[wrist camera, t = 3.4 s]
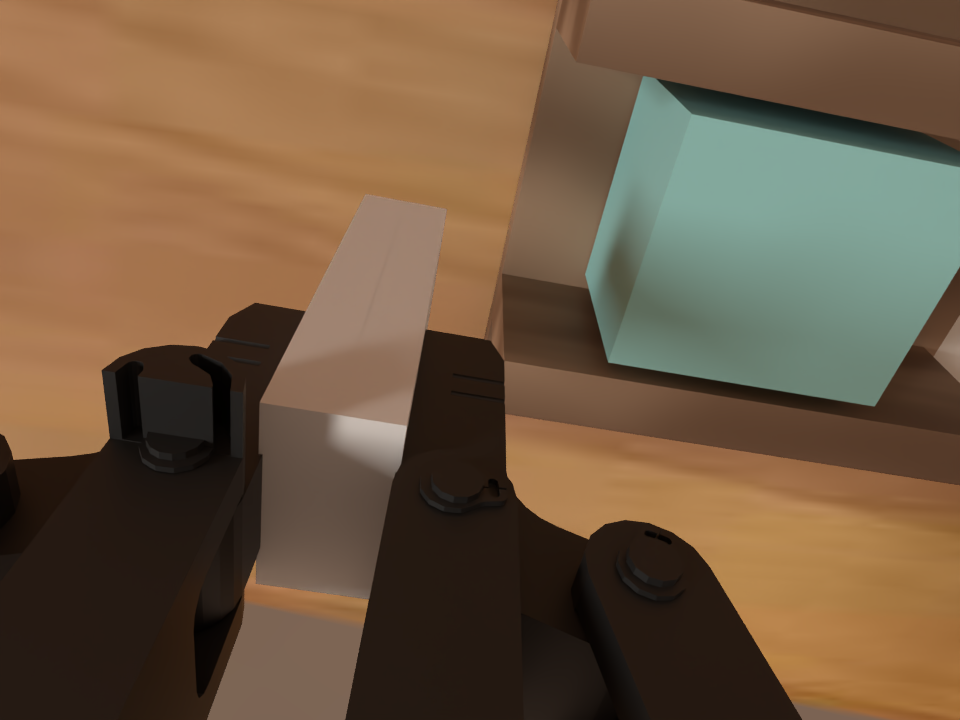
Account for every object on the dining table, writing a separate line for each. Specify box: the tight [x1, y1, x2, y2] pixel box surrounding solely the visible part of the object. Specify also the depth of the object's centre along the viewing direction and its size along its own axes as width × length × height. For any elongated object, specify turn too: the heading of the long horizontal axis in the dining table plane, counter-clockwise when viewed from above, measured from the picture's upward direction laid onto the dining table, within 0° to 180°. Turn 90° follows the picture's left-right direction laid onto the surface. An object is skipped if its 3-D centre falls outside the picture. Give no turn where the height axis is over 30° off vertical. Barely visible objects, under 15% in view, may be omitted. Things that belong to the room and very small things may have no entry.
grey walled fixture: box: [484, 0, 960, 485], centre depth 19 cm, size 16×23×6 cm
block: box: [585, 76, 960, 406], centre depth 18 cm, size 6×7×5 cm
